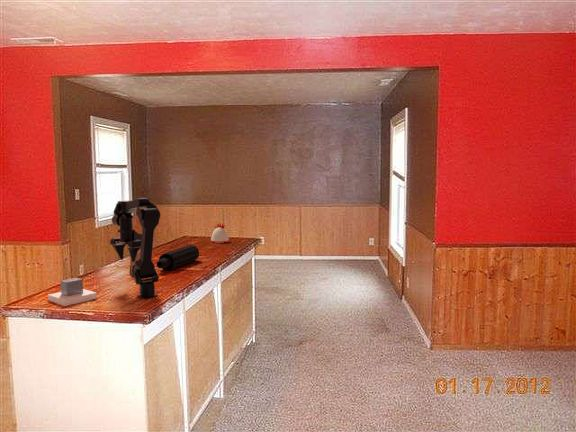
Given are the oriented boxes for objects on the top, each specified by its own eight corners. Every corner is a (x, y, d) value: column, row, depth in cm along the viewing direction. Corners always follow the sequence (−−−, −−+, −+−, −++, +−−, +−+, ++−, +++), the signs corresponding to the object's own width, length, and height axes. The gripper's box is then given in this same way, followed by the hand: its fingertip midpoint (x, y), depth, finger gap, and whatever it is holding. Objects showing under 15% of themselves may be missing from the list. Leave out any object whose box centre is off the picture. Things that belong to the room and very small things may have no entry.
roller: (169, 271, 240) (164, 253, 240) (154, 275, 243) (148, 258, 243) (201, 258, 277) (197, 242, 276) (188, 262, 279) (183, 247, 279)
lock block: (83, 292, 194) (82, 279, 193) (67, 296, 188) (66, 282, 187) (77, 291, 197) (76, 277, 196) (61, 294, 191) (60, 280, 190)
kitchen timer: (225, 243, 342) (225, 224, 341) (208, 243, 345) (208, 223, 343) (231, 241, 356) (230, 222, 355) (214, 240, 359) (214, 222, 357)
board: (96, 298, 194) (96, 292, 194) (64, 306, 183) (64, 300, 183) (80, 293, 202) (79, 287, 202) (48, 300, 191) (47, 294, 191)
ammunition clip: (140, 270, 249) (139, 249, 248) (143, 270, 249) (142, 249, 248) (129, 275, 239) (128, 252, 237) (133, 275, 238) (132, 252, 237)
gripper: (153, 227, 210) (154, 260, 211) (129, 224, 221) (130, 255, 223) (132, 229, 201) (133, 264, 202) (108, 226, 212) (110, 259, 214)
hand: (127, 260), depth 211 cm, fingers open, 9 cm apart
